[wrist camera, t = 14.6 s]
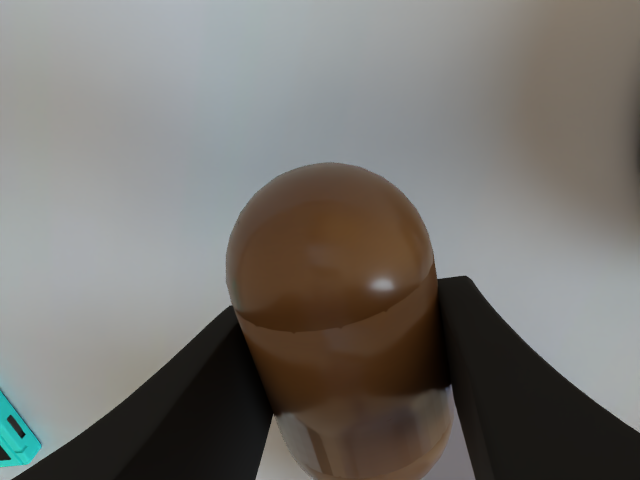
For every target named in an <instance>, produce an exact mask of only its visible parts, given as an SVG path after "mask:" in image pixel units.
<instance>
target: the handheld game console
mask: <svg viewBox="0 0 640 480" xmlns="http://www.w3.org/2000/svg"><path fill="white" fill-rule="evenodd" d="M40 448H41V444H40V442H39V441H38V440H37V438H36V437H35V436H34V434H33V433H32V432H31V430H30V429H29V428H28V426H27V425H26V424H25V423H24V421H23V420H22V419H21V417H20V416H19V415H18V413H17V412H16V411H15V409H14V408H13V407H12V405H11V404H10V403H9V402H8V400H7V399H6V398H5V396H4V395H3V394H2V392H1V391H0V467H7V466H17V465H27V464H29V463H30V462H31V461H32V459H33V458H34V457H35V455H36V454H37V453H38V451H39V450H40Z"/></svg>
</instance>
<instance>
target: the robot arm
mask: <svg viewBox="0 0 640 480" xmlns="http://www.w3.org/2000/svg"><path fill="white" fill-rule="evenodd" d="M437 282H438V296H439V303H440V310H441V317H442V324H443V330H444V337H445V344H446V351H447V358H448V365H449V372H450V379H451V385H452V391H453V398H454V420H453V425H452V429H451V434H450V437H449V440H448V443H447V445H446V447H445V449H444V452H443V454H442V456H441V457H440V459H439V460H438V461H437V462H436V464H435V465H434V466H433V467H432V469H431V470H430V471H429V472H428V473H427V474H426V475H425V476H424V477H423V478H422V479H421V480H640V433H639V432H638V431H636V430H634V429H633V428H631V427H630V426H628V425H627V424H625V423H624V422H622V421H621V420H620V419H618V418H617V417H616V416H614V415H613V414H611V413H610V412H609V411H607V410H606V409H604V408H603V407H602V406H600V405H599V404H598V403H596V402H595V401H594V400H592V399H591V398H590V397H588V396H587V395H586V394H585V393H583V392H582V391H581V390H579V389H578V388H577V387H575V386H574V385H573V384H572V383H571V382H569V381H568V380H567V379H566V378H564V377H563V376H562V375H561V374H560V373H559V372H557V371H556V370H555V369H554V368H553V367H552V366H550V365H549V364H548V363H547V362H546V361H545V360H544V359H543V358H542V357H541V356H539V355H538V354H537V353H536V352H535V351H534V350H533V349H532V348H531V347H530V346H529V345H528V344H527V343H526V342H525V341H524V340H523V339H522V338H521V337H520V336H519V335H518V334H517V333H516V332H515V331H514V330H513V329H512V328H511V327H510V326H509V325H508V324H507V323H506V322H505V321H504V320H503V319H502V318H501V316H500V315H499V314H498V313H497V312H496V311H495V310H494V308H493V307H492V306H491V305H490V304H489V302H488V301H487V300H486V299H485V298H484V296H483V295H482V294H481V292H480V291H479V290H478V288H477V287H476V285H475V284H474V282H473V281H472V280H471V279H470V278H469V277H467V276H458V277H451V278H443V279H437ZM272 417H273V411H272V408H271V405H270V403H269V400H268V398H267V395H266V392H265V390H264V387H263V384H262V382H261V379H260V376H259V374H258V371H257V369H256V366H255V363H254V361H253V358H252V355H251V353H250V350H249V348H248V345H247V342H246V340H245V337H244V334H243V332H242V329H241V327H240V324H239V321H238V319H237V316H236V313H235V311H234V308H233V305H231V306H229V307H228V308H226V309H225V310H224V311H223V312H222V313H220V314H219V315H218V316H217V317H216V318H215V319H214V320H213V321H212V322H210V323H209V324H208V325H207V326H206V327H205V328H204V329H203V330H202V331H201V332H200V333H199V334H198V335H197V336H196V337H195V338H194V339H192V340H191V341H190V342H189V343H188V344H187V345H186V346H185V347H184V348H183V349H182V350H181V351H180V352H179V353H178V354H176V355H175V356H174V357H173V358H172V359H171V360H170V361H169V362H168V363H167V364H166V365H165V366H163V367H162V368H161V369H160V370H159V371H158V372H157V373H155V374H154V375H153V376H152V377H151V378H150V379H149V380H147V381H146V382H145V383H144V384H143V385H142V386H140V387H139V388H138V389H137V390H136V391H135V392H134V393H132V394H131V395H130V396H129V397H128V398H127V399H125V400H124V401H123V402H122V403H120V404H119V405H118V406H117V407H115V408H114V409H113V410H112V411H110V412H109V413H108V414H107V415H105V416H104V417H103V418H101V419H100V420H99V421H97V422H96V423H95V424H93V425H92V426H90V427H89V428H88V429H86V430H85V431H84V432H82V433H81V434H80V435H78V436H77V437H75V438H74V439H73V440H71V441H70V442H68V443H67V444H65V445H64V446H62V447H61V448H59V449H58V450H56V451H55V452H53V453H52V454H50V455H49V456H47V457H45V458H44V459H42V460H41V461H39V462H38V463H36V464H35V465H33V466H32V467H30V468H29V469H27V470H26V471H24V472H23V473H21V474H20V475H18V476H16V477H15V478H13V479H11V480H255V479H256V475H257V472H258V468H259V465H260V461H261V457H262V454H263V450H264V447H265V443H266V439H267V435H268V432H269V428H270V424H271V420H272Z"/></svg>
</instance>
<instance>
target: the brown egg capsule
mask: <svg viewBox="0 0 640 480" xmlns="http://www.w3.org/2000/svg"><path fill="white" fill-rule="evenodd" d="M226 283H227V287H228V291H229V295H230V299H231V302H232V305H233V308H234V311H235V313H236V316H237V319H238V321H239V324H240V327H241V329H242V332H243V334H244V337H245V340H246V342H247V345H248V348H249V350H250V353H251V355H252V358H253V361H254V363H255V366H256V369H257V371H258V374H259V376H260V379H261V382H262V384H263V387H264V390H265V392H266V395H267V398H268V400H269V403H270V405H271V408H272V411H273V413H274V416H275V419H276V421H277V424H278V426H279V429H280V432H281V434H282V437H283V440H284V442H285V444H286V446H287V447H288V449H289V451H290V453H291V455H292V456H293V458H294V459H295V460H296V462H297V463H298V464H299V466H300V467H301V468H302V469H303V470H304V471H305V472H306V473H307V474H308V475H310V476H311V477H312V478H313V479H314V480H421V479H422V478H423V477H424V476H425V475H426V474H427V473H428V472H429V471H430V470H431V469H432V467H433V466H434V465H435V464H436V462H437V461H438V460H439V459H440V457H441V456H442V454H443V452H444V449H445V447H446V445H447V443H448V440H449V437H450V434H451V429H452V425H453V420H454V398H453V391H452V385H451V379H450V372H449V365H448V358H447V351H446V344H445V337H444V330H443V324H442V317H441V310H440V303H439V296H438V282H437V275H436V268H435V261H434V254H433V249H432V245H431V242H430V238H429V234H428V231H427V229H426V226H425V224H424V222H423V220H422V218H421V217H420V215H419V213H418V211H417V209H416V208H415V206H414V205H413V204H412V203H411V202H410V201H409V199H408V198H407V197H406V196H405V195H404V194H403V193H402V192H401V191H400V190H399V189H398V188H397V187H396V186H394V185H393V184H392V183H390V182H389V181H388V180H386V179H385V178H384V177H382V176H380V175H377V174H375V173H373V172H371V171H368V170H366V169H364V168H361V167H358V166H353V165H347V164H341V163H318V164H312V165H307V166H303V167H299V168H296V169H293V170H290V171H288V172H285V173H283V174H281V175H279V176H277V177H276V178H274V179H273V180H271V181H270V182H269V183H268V184H266V185H265V186H264V187H263V188H261V189H260V190H259V191H258V192H257V193H255V194H254V196H253V197H252V198H251V199H250V201H249V202H248V203H247V205H246V206H245V207H244V209H243V210H242V211H241V213H240V215H239V217H238V219H237V221H236V223H235V226H234V228H233V230H232V232H231V235H230V238H229V243H228V247H227V252H226Z"/></svg>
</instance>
